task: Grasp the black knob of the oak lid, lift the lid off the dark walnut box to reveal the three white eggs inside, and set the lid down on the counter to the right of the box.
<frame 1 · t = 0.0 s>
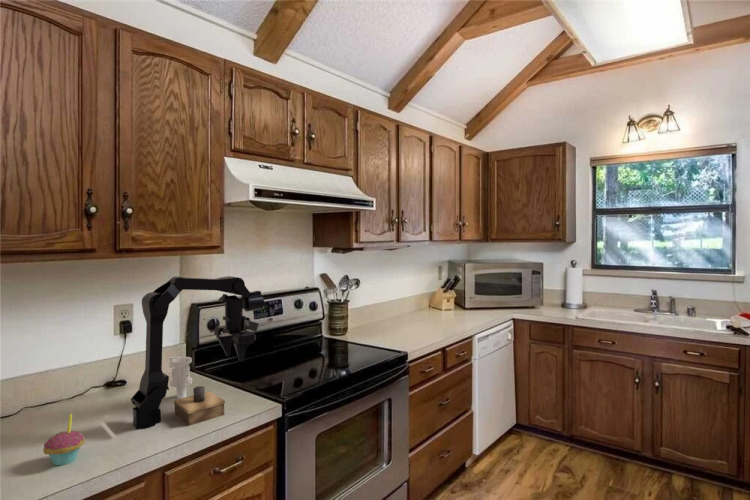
hand: (234, 358, 149), 15 cm above the worktop, fingers open, 9 cm apart
egg b: (209, 414, 136), point 1 cm above the worktop, touching box
box: (199, 417, 136), on the worktop
white tall flanged cylinder: (181, 399, 151), on the worktop
egg a: (194, 418, 133), point 1 cm above the worktop, touching box
egg c: (196, 412, 137), point 1 cm above the worktop, touching box
cupcake: (65, 461, 110), on the worktop
lid: (199, 403, 136), point 4 cm above the worktop, touching box
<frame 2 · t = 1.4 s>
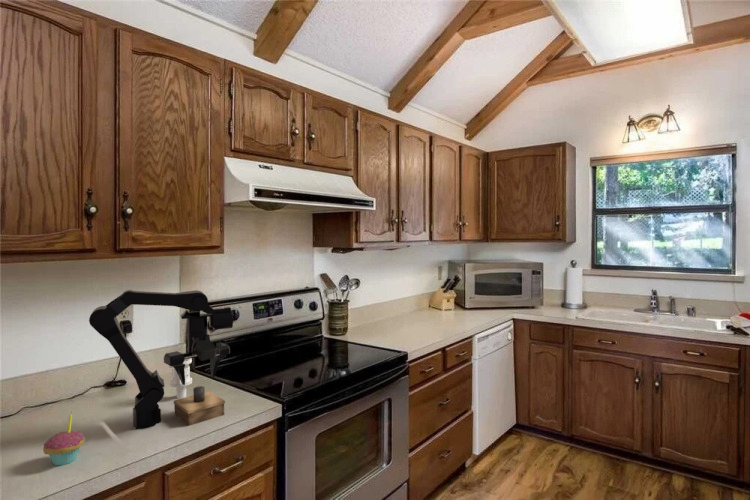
hand: (198, 381, 136), 11 cm above the worktop, fingers open, 9 cm apart
nothing on the worktop moved.
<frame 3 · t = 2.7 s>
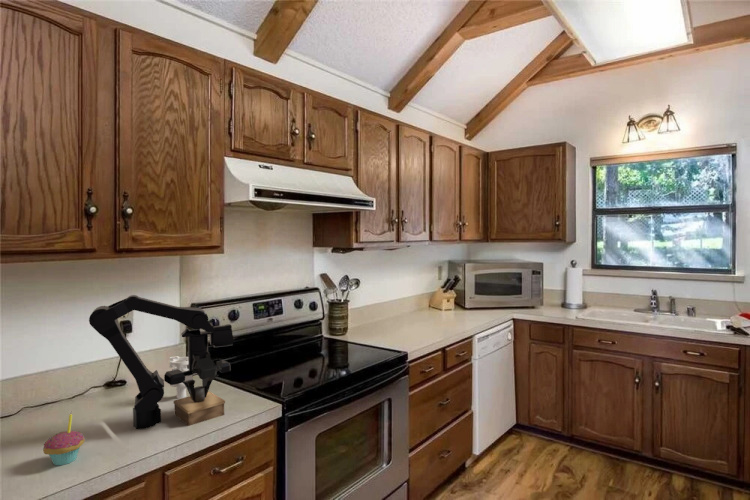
hand: (199, 398, 136), 6 cm above the worktop, fingers closed on lid, 3 cm apart
lid: (199, 403, 136), point 4 cm above the worktop, touching box, gripper
everything else where it was.
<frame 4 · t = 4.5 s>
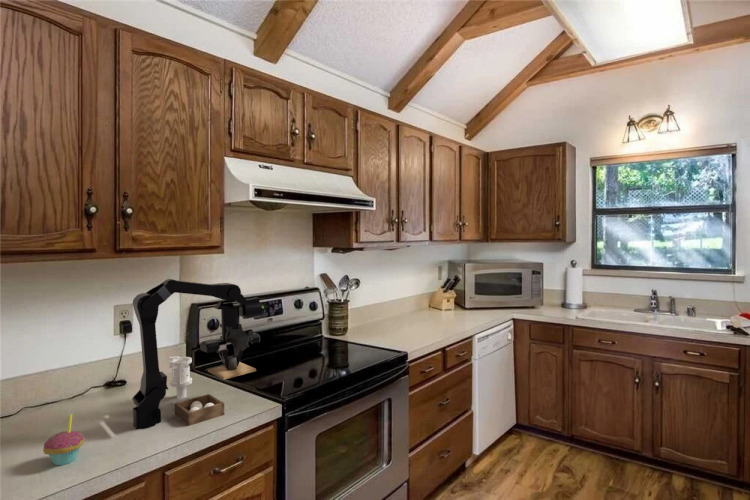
hand: (231, 367, 145), 13 cm above the worktop, fingers closed on lid, 3 cm apart
lid: (232, 371, 145), point 11 cm above the worktop, touching gripper
everything else where it was.
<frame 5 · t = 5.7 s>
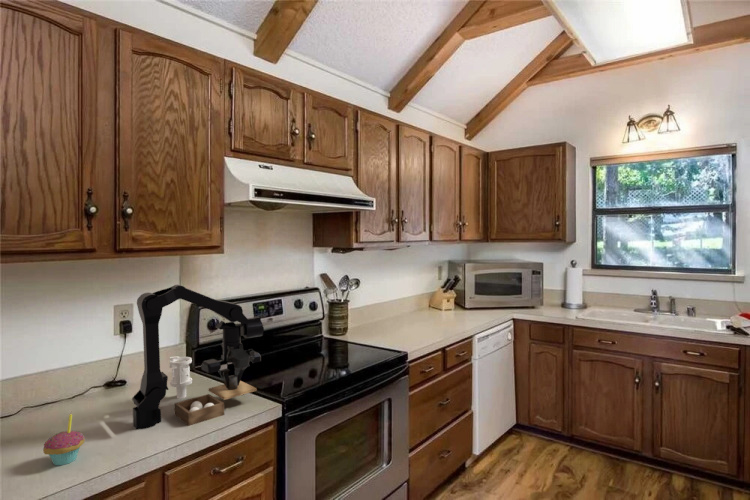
hand: (232, 386, 146), 6 cm above the worktop, fingers closed on lid, 3 cm apart
lid: (232, 390, 146), point 5 cm above the worktop, touching gripper
everything else where it was.
when the fingers open (3 cm above the worktop, at t = 6.5 s): lid drops 2 cm, on the worktop.
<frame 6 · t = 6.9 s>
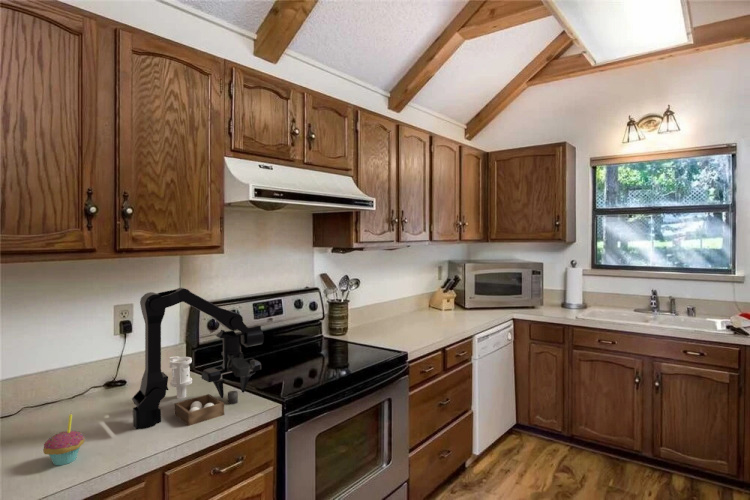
hand: (232, 395, 146), 3 cm above the worktop, fingers open, 7 cm apart
lid: (232, 406, 146), on the worktop
everything else where it was.
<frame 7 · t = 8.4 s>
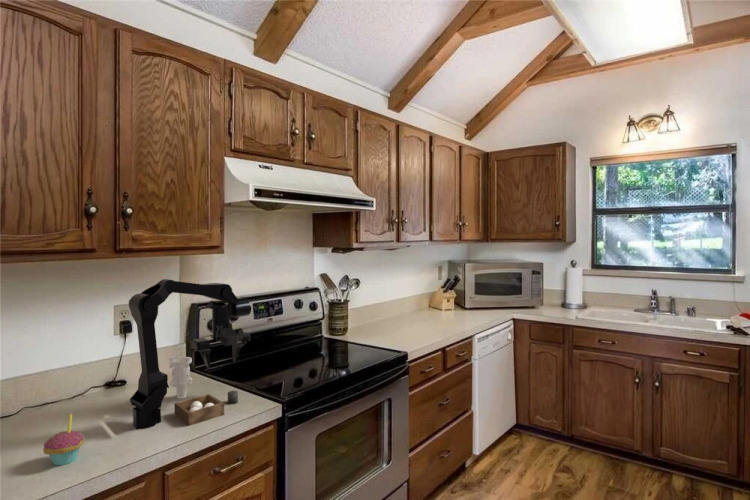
hand: (221, 365, 148), 12 cm above the worktop, fingers open, 9 cm apart
nothing on the worktop moved.
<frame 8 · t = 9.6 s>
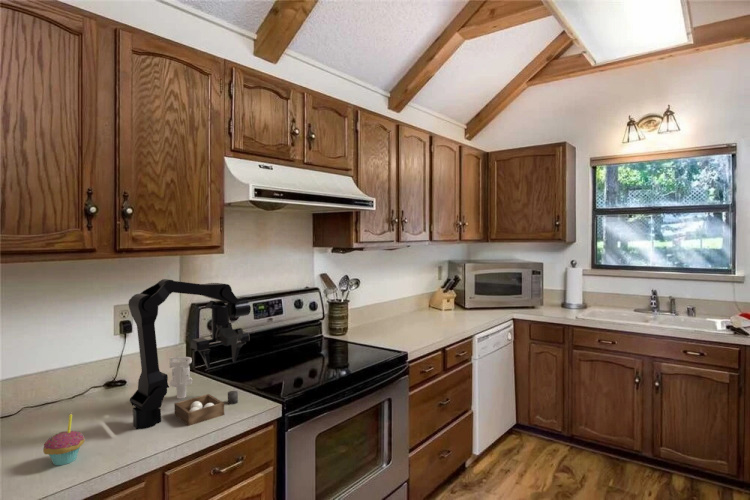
hand: (221, 365, 148), 12 cm above the worktop, fingers open, 9 cm apart
nothing on the worktop moved.
at the end: lid inside the target area (0.5 cm from its centre), on the worktop; lid tilted 0°; the gripper is holding nothing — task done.
